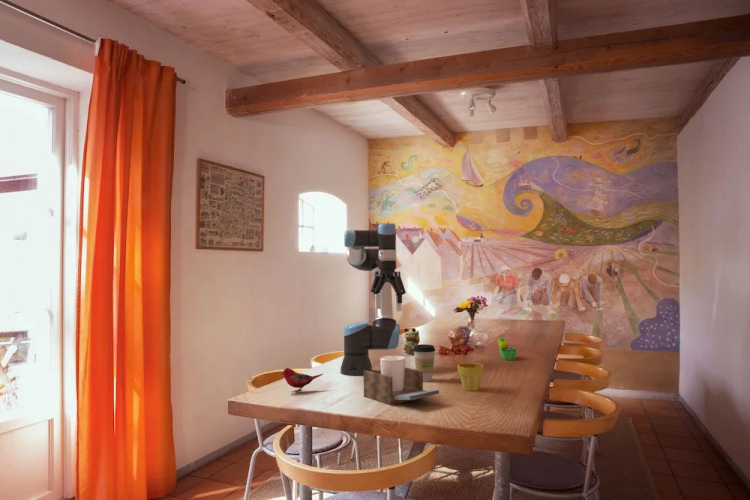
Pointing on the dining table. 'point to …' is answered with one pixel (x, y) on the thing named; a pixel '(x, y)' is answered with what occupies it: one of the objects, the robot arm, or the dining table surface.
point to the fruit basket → (506, 350)
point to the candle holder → (394, 370)
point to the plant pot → (470, 375)
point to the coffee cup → (424, 360)
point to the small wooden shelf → (391, 386)
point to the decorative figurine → (411, 341)
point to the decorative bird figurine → (297, 379)
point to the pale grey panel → (416, 395)
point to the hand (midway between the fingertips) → (387, 310)
